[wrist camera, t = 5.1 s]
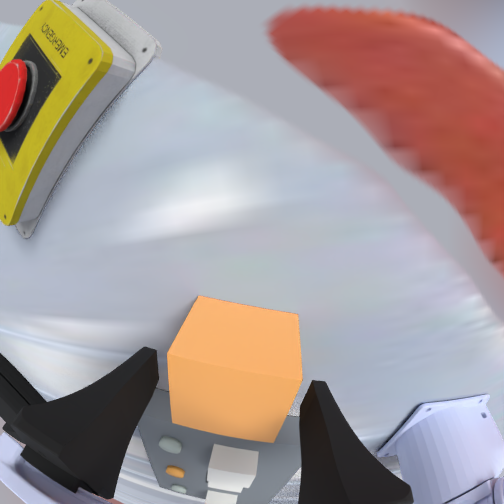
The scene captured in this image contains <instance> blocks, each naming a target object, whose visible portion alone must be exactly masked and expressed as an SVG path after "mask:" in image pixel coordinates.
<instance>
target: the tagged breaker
mask: <svg viewBox="0 0 504 504" xmlns="http://www.w3.org/2000/svg"><path fill="white" fill-rule="evenodd" d="M208 487H211V488H216V489H221V490H226V491H232V492H239V493H241V491H242V489H243V487H237V486H231V485H225V484H219V483H214V482H209V481H208Z"/></svg>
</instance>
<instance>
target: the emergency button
mask: <svg viewBox="0 0 504 504" xmlns="http://www.w3.org/2000/svg"><path fill="white" fill-rule="evenodd" d="M161 53H162V47H161V44H160V42H159V41H158V40H156V39H155V38H154V37H153V36H152V35H151V34H149V33H148V32H147V31H146V30H144V29H143V28H142V27H141V26H139V25H138V24H137V23H136V22H135V21H133V20H132V19H131V18H130V17H128V16H127V15H126V14H124V13H123V12H122V11H120V10H119V9H118V8H117V7H115V6H114V5H113V4H111V3H110V2H108V1H107V0H76V1H75V2H74V3H73V4H72V5H68V4H65V3H62V2H60V1H57V0H46V1H44V2H43V3H42V4H41V5H40V6H39V7H38V8H37V10H36V11H35V12H34V14H33V15H32V16H31V17H30V19H29V20H28V21H27V23H26V24H25V26H24V27H23V28H22V30H21V31H20V33H19V34H18V36H17V37H16V39H15V40H14V42H13V44H12V45H11V47H10V48H9V50H8V52H7V53H6V55H5V57H4V58H3V60H2V62H1V64H0V220H1V222H2V223H3V224H4V225H6V226H10V225H15V226H16V228H17V230H18V231H19V233H20V234H21V235H22V236H23V237H24V238H30V236H31V235H32V234H33V232H34V230H35V228H36V225H37V223H38V221H39V219H40V217H41V215H42V213H43V211H44V209H45V207H46V205H47V203H48V201H49V199H50V197H51V195H52V193H53V191H54V190H55V188H56V186H57V184H58V182H59V181H60V179H61V177H62V176H63V174H64V172H65V170H66V169H67V167H68V166H69V164H70V162H71V161H72V159H73V158H74V156H75V155H76V153H77V152H78V150H79V149H80V147H81V146H82V144H83V143H84V141H85V140H86V138H87V137H88V136H89V134H90V133H91V131H92V130H93V129H94V127H95V126H96V125H97V123H98V122H99V121H100V119H101V118H102V117H103V115H104V114H105V113H106V112H107V110H108V109H109V108H110V107H111V105H112V104H113V103H114V102H115V101H116V100H117V98H118V97H119V96H120V95H121V94H122V93H123V91H124V90H125V89H126V88H127V87H128V86H129V85H130V84H131V83H132V81H133V80H134V79H135V78H136V77H137V76H138V75H139V74H140V73H141V72H142V71H143V70H144V69H145V68H146V67H147V66H148V65H149V64H150V62H151V61H152V59H153V58H154V57H155V58H158V59H160V57H161Z"/></svg>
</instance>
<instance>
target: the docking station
mask: <svg viewBox="0 0 504 504" xmlns="http://www.w3.org/2000/svg"><path fill="white" fill-rule="evenodd" d="M41 403H46V401H45V400H44V399H43V398H42V397H41V396H40V395H39V394H38V393H37V391H36V390H35V389H34V388H33V387H32V386H31V385H30V384H29V383H28V382H27V381H26V379H25V378H24V377H23V376H22V375H21V374H20V373H19V372H18V371H17V370H16V369H15V368H14V367H13V366H12V365H11V364H10V363H9V362H8V361H7V360H6V359H5V358H4V357H3V356H2V355H1V354H0V416H1V417H2V419H3V420H4V421H5V422H6V424H5V425H4V426H3V430H4V431H6V432H7V433H8V434H9V435H11V436H12V437H14V438H15V439H17V440H18V441H20V442H22V443H24V442H23V440H22V439H21V438H20V437H19V436H18V435H17V433H16V432H15V431H14V430H13V428H12V426H11V422H12V421H13V420H14V418H15V417H16V416H17V414H18V413H19V412H20V410H21V409H22V408H23V407H24V406H30V405H36V404H41ZM24 444H25V443H24Z"/></svg>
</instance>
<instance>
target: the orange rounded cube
mask: <svg viewBox="0 0 504 504" xmlns="http://www.w3.org/2000/svg"><path fill="white" fill-rule="evenodd" d="M167 362H168V380H169V393H170V405H171V416H172V423H175V424H178V425H182V426H186V427H189V428H193V429H197V430H201V431H206V432H210V433H215V434H219V435H224V436H229V437H235V438H241V439H247V440H254V441H261V442H269V443H274V441H275V439H276V437H277V435H278V433H279V431H280V429H281V427H282V425H283V423H284V420H285V418H286V416H287V414H288V412H289V410H290V408H291V405H292V403H293V401H294V399H295V396H296V394H297V392H298V390H299V387H300V385H301V382H302V380H303V379H302V362H301V346H300V332H299V320H298V314H293V313H287V312H281V311H276V310H270V309H264V308H259V307H253V306H248V305H243V304H238V303H233V302H228V301H223V300H218V299H213V298H208V297H204V296H198V298H197V300H196V301H195V303H194V305H193V307H192V309H191V310H190V312H189V314H188V316H187V318H186V319H185V321H184V323H183V325H182V327H181V329H180V330H179V332H178V334H177V336H176V338H175V340H174V341H173V343H172V345H171V347H170V349H169V351H168V353H167Z"/></svg>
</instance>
